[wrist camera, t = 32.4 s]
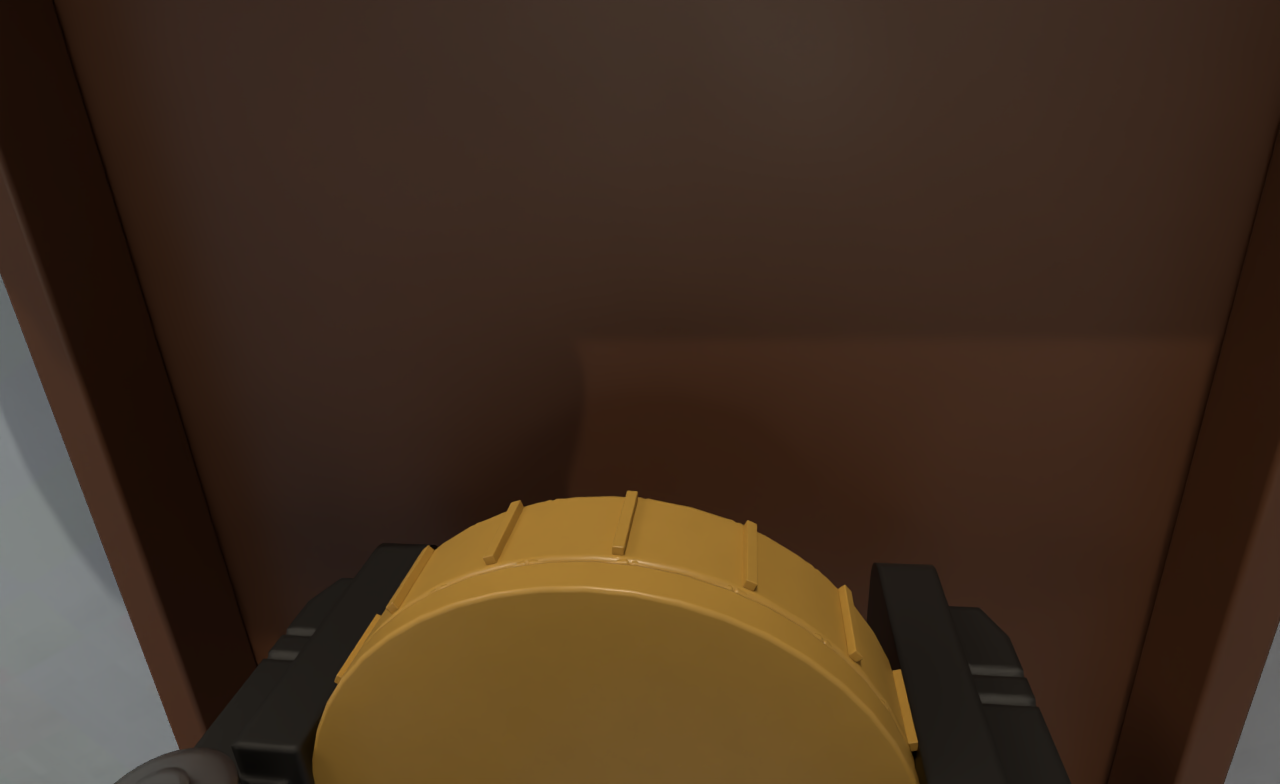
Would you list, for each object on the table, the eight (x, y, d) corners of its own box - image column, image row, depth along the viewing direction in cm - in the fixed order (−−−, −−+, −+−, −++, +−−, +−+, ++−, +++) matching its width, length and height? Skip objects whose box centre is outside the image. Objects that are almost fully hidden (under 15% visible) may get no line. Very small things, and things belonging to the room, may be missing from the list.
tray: (1067, 960, 15) (1116, 1104, 13) (330, 887, 18) (272, 1002, 15) (1399, -285, 8) (1635, -403, 6) (13, -155, 10) (-186, -207, 8)
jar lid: (396, 423, 8) (321, 505, 6) (995, 579, 8) (1047, 696, 6) (356, 823, 10) (296, 944, 9) (806, 946, 10) (815, 1087, 9)
